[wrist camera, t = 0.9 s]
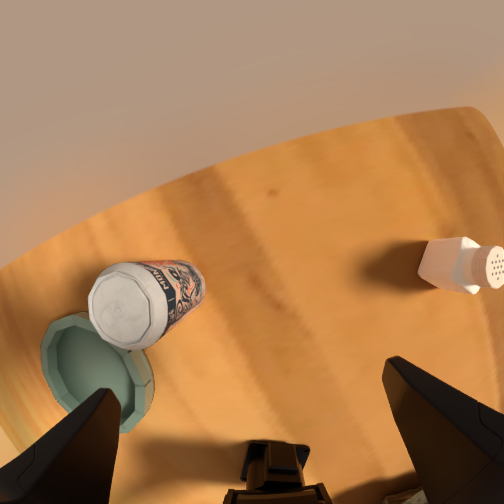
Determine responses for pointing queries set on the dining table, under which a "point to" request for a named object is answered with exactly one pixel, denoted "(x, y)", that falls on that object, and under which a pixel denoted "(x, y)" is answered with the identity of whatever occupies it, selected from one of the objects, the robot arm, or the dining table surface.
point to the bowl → (95, 369)
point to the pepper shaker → (462, 265)
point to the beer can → (143, 300)
